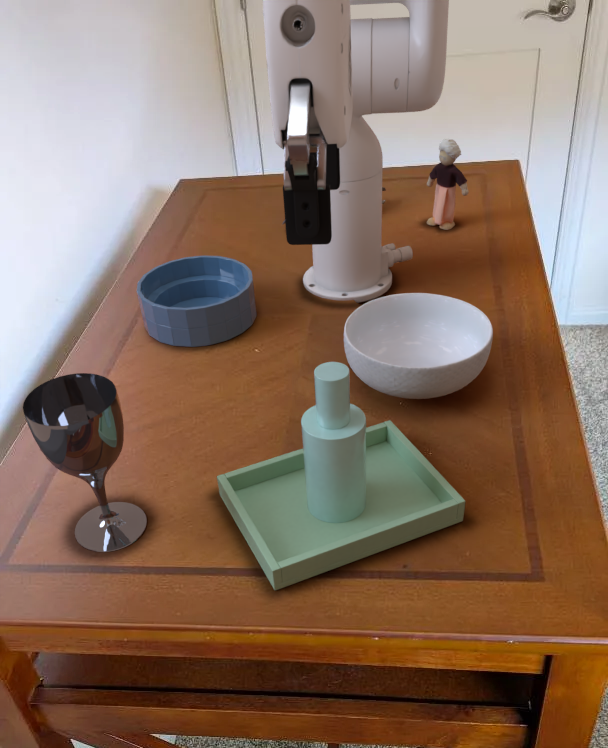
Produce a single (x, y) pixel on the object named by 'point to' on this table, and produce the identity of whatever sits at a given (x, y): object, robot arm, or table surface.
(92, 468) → the wine glass
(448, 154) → the grandmother figurine
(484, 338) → the cereal bowl
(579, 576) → the table surface
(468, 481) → the table surface
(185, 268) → the bowl
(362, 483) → the bottle
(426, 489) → the tray
